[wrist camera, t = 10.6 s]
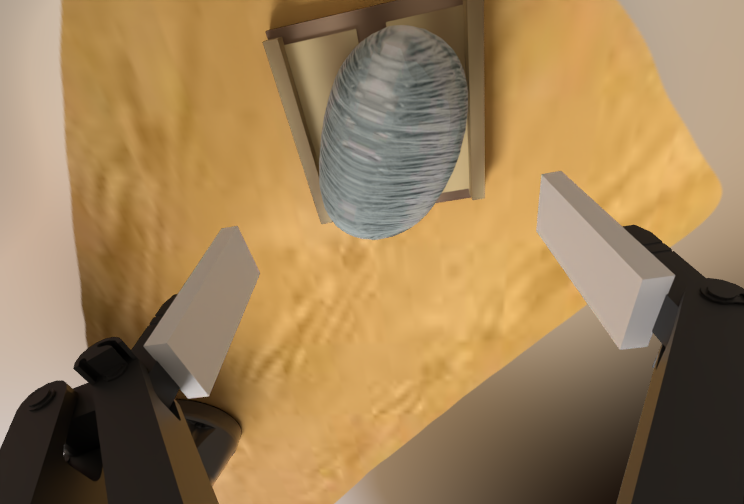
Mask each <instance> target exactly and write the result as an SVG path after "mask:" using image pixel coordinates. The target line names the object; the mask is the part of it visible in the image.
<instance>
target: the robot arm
mask: <svg viewBox="0 0 744 504" xmlns="http://www.w3.org/2000/svg"><path fill="white" fill-rule="evenodd" d="M536 231H537V233H538V234H539V235H540V237H541V238H542V240H543V241H544V243H545V244H546V245H547V247H548V248H549V250H550V251H551V253H552V254H553V255H554V257H555V258H556V260H557V261H558V263H559V264H560V265H561V267H562V268H563V270H564V271H565V272H566V274H567V275H568V277H569V278H570V280H571V281H572V282H573V284H574V285H575V287H576V288H577V290H578V291H579V292H580V294H581V295H582V297H583V298H584V300H585V301H586V302H587V304H588V305H589V306H590V308H591V309H592V311H593V312H594V313H595V315H596V317H597V318H598V319H599V321H600V322H601V324H602V325H603V326H604V328H605V329H606V331H607V332H608V334H609V335H610V337H611V338H612V339H613V341H614V342H615V344H616V345H617V346H618V348H619V349H620V350H621V349H631V348H640V347H647V346H648V344H649V341H650V339H651V336H652V334H653V333H654V334H655V336H656V337H657V338H658V339H659V340H660V342H661V343H662V345H661V347H660V350H659V352H658V355H657V357H656V359H655V361H654V364H653V366H652V367H653V368H654V371H653V374H652V378H651V381H650V385H649V389H648V392H647V396H646V399H645V403H644V406H643V410H642V414H641V417H640V421H639V424H638V428H637V432H636V435H635V439H634V442H633V446H632V450H631V454H630V457H629V460H628V464H627V467H626V471H625V475H624V478H623V482H622V485H621V489H620V493H619V496H618V500H617V503H616V504H743V496H744V289H743V288H742V287H740V286H738V285H736V284H733V283H730V282H727V281H724V280H719V279H711V278H705V277H704V276H702V274H700V273H699V272H698V271H697V270H696V269H694V268H693V267H692V266H691V265H689V264H688V263H687V262H686V261H684V259H682V258H681V257H680V256H679V255H678V254H676V253H675V252H674V251H673V252H672V250H671V248H669V247H668V246H667V245H666V244H665V243H664V244H663V243H662V241H661V240H660V239H659V238H657V237H656V236H655V235H654V234H653V233H651V232H650V231H647V230H645V229H643V228H641V227H638V226H636V225H630V226H623V227H622V226H621V225H620V224H619V223H618V222H616V221H615V220H614V219H613V218H612V217H611V216H610V215H609V214H608V213H607V212H606V211H604V210H603V209H602V208H601V207H600V206H599V205H598V204H597V203H596V202H595V201H594V200H592V199H591V198H590V197H589V196H588V195H587V194H586V193H585V192H584V191H583V190H581V189H580V188H579V187H578V186H577V185H576V184H575V183H574V182H573V181H572V180H571V179H569V178H568V177H567V176H566V175H565V174H564V173H563V172H562V171H558V172H552V173H546V174H541V185H540V196H539V207H538V218H537V229H536ZM259 275H260V272H259V270H258V268H257V266H256V263H255V261H254V259H253V257H252V255H251V253H250V251H249V249H248V247H247V245H246V243H245V241H244V238H243V236H242V234H241V232H240V230H239V228H238V226H234V227H228V228H222V229H221V230H220V232H219V233H218V235H217V236H216V238H215V239H214V241H213V242H212V244H211V245H210V247H209V248H208V250H207V251H206V253H205V254H204V256H203V257H202V259H201V260H200V262H199V263H198V265H197V266H196V268H195V269H194V271H193V272H192V274H191V275H190V277H189V278H188V280H187V281H186V283H185V284H184V286H183V287H182V289H181V290H180V292H179V293H178V294H175V295H173V296H172V297H171V298H170V299H169V300H167V301H166V302H165V303H164V304H163V305H162V306H161V308H160V309H159V311H158V312H157V314H156V315H155V316H156V317H154V318H153V320H152V321H151V322H150V326H148V327H147V328H146V330H145V331H144V333H143V334H142V335H141V337H140V338H139V340H138V341H137V343H136V344H135V346H134V347H133V348H132V350H130V349H129V348H128V347H127V345H126V344H125V343H124V342H123V341H122V340H121V339H120V338H118V337H111V338H106V339H104V340H101V341H99V342H97V343H95V344H94V345H92V346H91V347H89V348H88V349H87V350H86V351H84V352H83V353H82V354H81V355H80V356H79V358H78V359H77V360H76V362H75V365H74V370H75V371H77V372H78V373H79V374H80V375H81V376H82V377H83V378H84V379H85V380H87V382H89V383H86V384H84V385H81V386H79V387H76V388H74V389H72V388H71V387H70V386H69V385H68V384H66V383H65V382H64V381H54V382H51V383H48V384H46V385H44V386H43V387H41V388H38V389H37V390H35V392H33V393H31V394H30V395H29V396H28V397H27V398H26V399H25V401H23V402H22V404H21V405H20V407H19V408H18V410H17V411H16V414H15V416H14V419H13V421H12V423H11V425H10V428H9V430H8V432H7V435H6V437H5V440H4V442H3V444H2V446H1V448H0V504H219V503H218V501H217V498H216V496H215V493H214V491H213V488H212V486H213V484H214V483H215V481H216V480H217V478H218V477H219V475H220V474H221V472H222V471H223V469H224V468H225V466H226V464H227V463H228V461H229V459H230V458H231V456H232V455H233V454H234V453H235V451H236V449H237V446H238V443H239V440H240V437H241V428H240V426H239V424H238V423H237V422H236V421H235V420H234V419H233V418H232V417H231V416H229V415H228V414H226V413H225V412H223V411H221V410H219V409H217V408H214V407H212V406H209V405H206V404H202V403H198V402H193V401H186V400H175V397H176V395H177V393H178V391H179V389H180V390H181V391H182V392H183V393H184V394H185V396H186V397H187V398H188V399H190V398H198V397H207V396H209V395H210V393H211V390H212V388H213V386H214V383H215V381H216V378H217V376H218V373H219V371H220V369H221V366H222V364H223V361H224V359H225V357H226V354H227V352H228V349H229V347H230V345H231V342H232V340H233V337H234V335H235V333H236V330H237V328H238V325H239V323H240V320H241V318H242V316H243V313H244V311H245V308H246V306H247V304H248V301H249V299H250V296H251V294H252V292H253V289H254V287H255V284H256V282H257V279H258V277H259ZM63 452H64V453H65V454H64V455H63Z"/></svg>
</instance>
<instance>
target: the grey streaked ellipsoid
mask: <svg viewBox="0 0 744 504" xmlns="http://www.w3.org/2000/svg"><path fill="white" fill-rule="evenodd" d="M467 113H468V87H467V82H466V78H465V73H464V69H463V67H462V65H461V63H460V60H459V58H458V56H457V55H456V53H455V52H454V50H453V49H452V48H451V47H450V46H449V45H448V44H447V43H446V42H445V41H444V40H443V39H442V38H440V37H439V36H437V35H435V34H433V33H431V32H429V31H428V30H426V29H423V28H417V27H414V26H409V25H394V26H388V27H386V28H384V29H382V30H380V31H377V32H375V33H373V34H371V35H370V36H368V37H367V38H366V39H364V40H363V41H361V42H360V43H359V44H358V45H357V46H356V47H355V48H354V49H353V50H352V52H351V53H350V54H349V55H348V57H347V58H346V59H345V61H344V62H343V64H342V65H341V67H340V69H339V71H338V73H337V75H336V77H335V80H334V83H333V85H332V88H331V92H330V95H329V99H328V103H327V107H326V111H325V115H324V120H323V127H322V134H321V143H320V158H319V185H320V191H321V195H322V200H323V203H324V207H325V210H326V211H327V213H328V215H329V217H330V218H331V220H332V221H333V222H334V224H335V225H336V226H337V227H339V228H340V229H341V230H342V231H344V232H346V233H347V234H350V235H352V236H354V237H358V238H361V239H371V240H377V239H383V238H388V237H392V236H395V235H397V234H400V233H402V232H404V231H406V230H407V229H409V228H411V227H412V226H414V225H415V224H417V223H418V222H419V221H420V220H421V219H422V218H423V217H424V216H425V215H426V214H427V213H428V212H429V211H430V209H431V208H432V207H433V205H434V204H435V203H436V201H437V199H438V198H439V196H440V195H441V193H442V192H443V190H444V188H445V187H446V185H447V182H448V180H449V178H450V176H451V174H452V173H453V171H454V168H455V165H456V163H457V160H458V157H459V155H460V151H461V146H462V142H463V138H464V134H465V130H466V123H467Z"/></svg>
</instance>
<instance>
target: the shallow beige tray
mask: <svg viewBox="0 0 744 504" xmlns="http://www.w3.org/2000/svg"><path fill="white" fill-rule="evenodd" d="M394 25H409V26H414V27H417V28H423V29H426V30H428V31H429V32H431V33H433V34H435V35H437V36H439V37H440V38H442V39H443V40H444V41H445V42H446V43H447V44H448V45H449V46H450V47H451V48H452V49H453V50H454V52H455V53H456V55H457V56H458V58H459V60H460V63H461V65H462V67H463V69H464V73H465V78H466V82H467V87H468V113H467V123H466V130H465V134H464V138H463V142H462V146H461V151H460V155H459V157H458V160H457V163H456V165H455V168H454V171H453V173H452V174H451V176H450V178H449V180H448V182H447V185H446V187H445V188H444V190H443V192H442V193H441V195H440V196H439V198H438V199H437V201H436V203H439V202H445V201H452V200H458V199H464V198H472V200H477V199H484V198H485V118H484V0H396V1H392V2H387V3H383V4H379V5H375V6H370V7H366V8H362V9H357V10H353V11H349V12H344V13H340V14H336V15H332V16H327V17H323V18H319V19H314V20H310V21H306V22H302V23H297V24H293V25H289V26H284V27H280V28H276V29H272V30H268V31H265V32H266V35H267V38H268V40H266V41H264V42H263V45H264V48H265V51H266V54H267V57H268V60H269V64H270V67H271V70H272V73H273V76H274V79H275V82H276V85H277V88H278V92H279V95H280V98H281V101H282V104H283V107H284V110H285V113H286V116H287V119H288V123H289V126H290V129H291V132H292V135H293V138H294V141H295V144H296V147H297V150H298V154H299V157H300V160H301V163H302V166H303V169H304V172H305V175H306V178H307V181H308V185H309V188H310V191H311V194H312V197H313V200H314V203H315V206H316V209H317V212H318V216H319V219H320V222H321V224H326V223H332V222H333V221H332V220H331V218H330V217H329V215H328V213H327V211H326V210H325V207H324V203H323V200H322V195H321V191H320V185H319V158H320V143H321V134H322V127H323V120H324V115H325V111H326V107H327V103H328V99H329V95H330V92H331V88H332V85H333V83H334V80H335V77H336V75H337V73H338V71H339V69H340V67H341V65H342V64H343V62H344V61H345V59H346V58H347V57H348V55H349V54H350V53H351V52H352V50H353V49H354V48H355V47H356V46H357V45H358V44H359V43H360V42H361V41H363V40H364V39H366V38H367V37H368V36H370V35H371V34H373V33H375V32H377V31H380V30H382V29H384V28H386V27H388V26H394Z"/></svg>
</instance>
